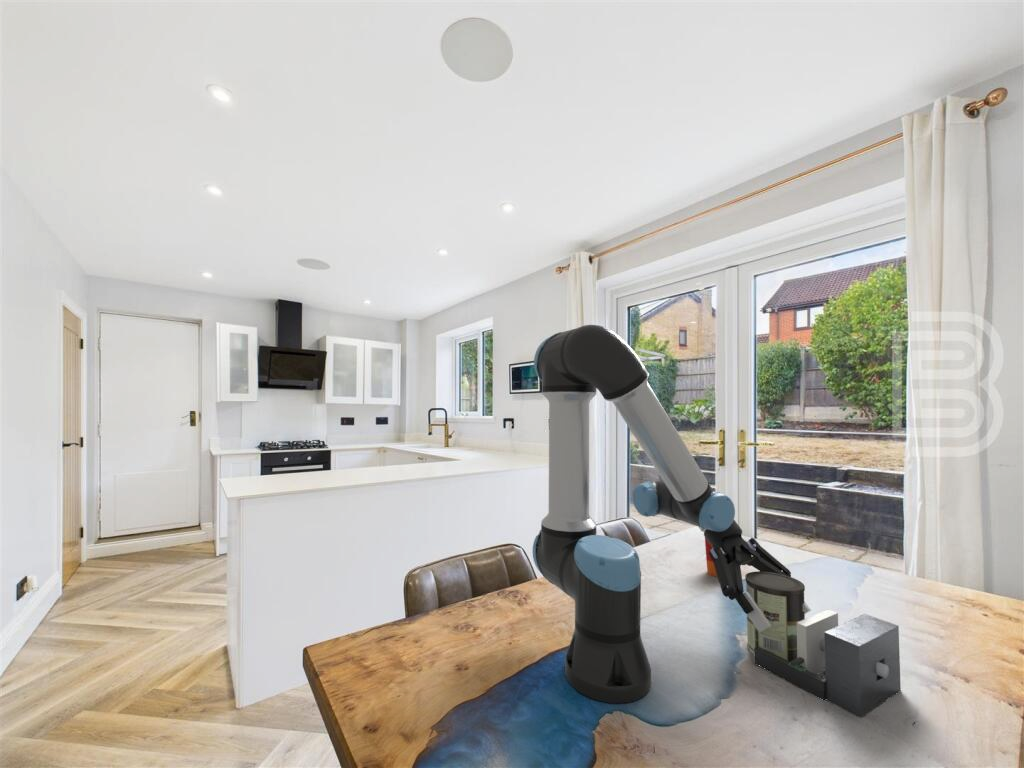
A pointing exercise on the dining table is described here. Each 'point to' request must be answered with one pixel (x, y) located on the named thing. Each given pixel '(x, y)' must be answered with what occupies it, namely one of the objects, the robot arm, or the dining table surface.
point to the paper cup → (709, 560)
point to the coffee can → (776, 612)
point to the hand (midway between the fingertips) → (786, 621)
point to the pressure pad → (819, 643)
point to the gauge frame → (848, 665)
